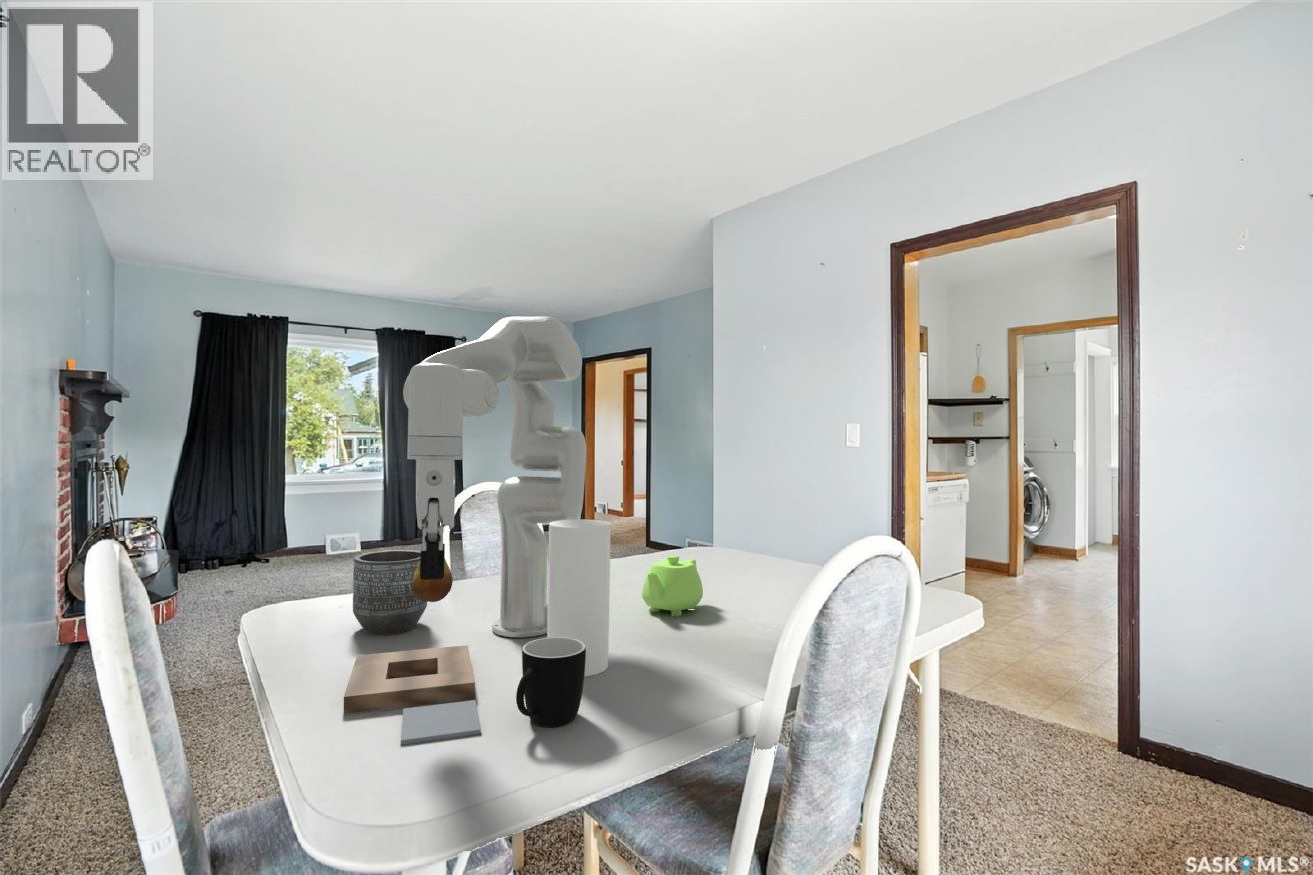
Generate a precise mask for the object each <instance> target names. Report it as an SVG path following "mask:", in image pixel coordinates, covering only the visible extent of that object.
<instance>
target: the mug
mask: <svg viewBox="0 0 1313 875" xmlns="http://www.w3.org/2000/svg"><path fill="white" fill-rule="evenodd" d="M585 660H586V647H585V644H584V643H583V642H581V641H579V640H576V639H572V638H565V637H550V638H547V637H543V638H542V637H541V638H539V639H534V640H531V641H528V642H527V643H525V644H524V645H523V647H522V650H521V665H522V666H521V668H522V677H521V678H520V680H519V682H518V685H517V688H516V689H517V690H516V694H515V696H516V697H515V699H516V700H515V701H516V702H515V703H516V706H517V709H518V711H519V712H520V713H521V714H522V715H524V716H525V717H529V720H530V721H531V722H532V723H533V724H534V725H536V726H538V727H544V728H557V727H563V726H566V725H568V724H570V723H572V722H573V721H574V720H575V718H576V717H577V715H578V713H579V710H580V706H581V703H582V702H581V701H582V696H583V689H584V682H585V677H584V674H585Z"/></svg>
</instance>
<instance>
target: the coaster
mask: <svg viewBox="0 0 1313 875" xmlns="http://www.w3.org/2000/svg"><path fill="white" fill-rule="evenodd" d="M477 706H478V705H477V700H476V699H470V700H462V701H454V702H445V703H437V704H429V705H420V706H412V707H404V708H403V710H402V720H401V731H400V732H401V733H400V746H402V745H409V744H417V743H423V742H431V741H439V740H445V739H447V740H448V739H453V738H460V737H467V736H468V737H469V736H475V735H481V734H482V730H481V722H480V717H479V713H478V711H479V710H478V707H477Z"/></svg>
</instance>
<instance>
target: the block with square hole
mask: <svg viewBox="0 0 1313 875" xmlns="http://www.w3.org/2000/svg"><path fill="white" fill-rule="evenodd" d="M475 687H476V682H475V676H474V670H473V666H472V660H471V655H470V649H469V645H468V644H467V645H456V646H446V647H445V646H443V647H434V648H423V649H413V650H412V649H410V650H401V651H390V652H389V651H388V652H380V653H379V652H378V653H368V654H358V655H356V657H355V661H354V664H353V667H352V670H351V673H350V676H349V679H348V682H347V686H346V689H345V691H344V695H343V715H348V714H349V715H350V714H357V713H369V712H374V711H375V712H376V711H384V710H389V709H390V710H391V709H399V708H400V709H401V708H411V707H419V706H427V705H436V704H444V703H453V702H461V701H469V700H476V699H475V698H476V697H475V696H476V694H475V692H476V691H475V689H476V688H475Z"/></svg>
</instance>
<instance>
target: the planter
mask: <svg viewBox="0 0 1313 875" xmlns="http://www.w3.org/2000/svg"><path fill="white" fill-rule="evenodd" d="M420 551H421V550H413V549H387V550H377V551H369V552H363V553H360V554H358V555H355V556H354V558H353V576H352V578H353V579H352V580H353V581H352V588H353V590H352V591H353V593H352V612H353V615H354V616H355V619H356V620H357V622H358V623H359V625H360V626H361V628H362V629H363V630H364V631H365V632H366V633H367V634H370V635H371V634H372V635H384V636H385V635H395V634H400V633H406V632H408V631H410V630H412V629H414V628H415V627H416V625H417V624H418V622H419V621H420V619H421V618H422V616H423V614H424V612H425V610H426V608H427V607H428V602H426V601H422V600H420V599H418V598H417V597H416V596H415V594H414V592H413V589H412V580H413V576H414V573H415V571H416V569H417V567H418V564H419V562H420Z"/></svg>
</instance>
